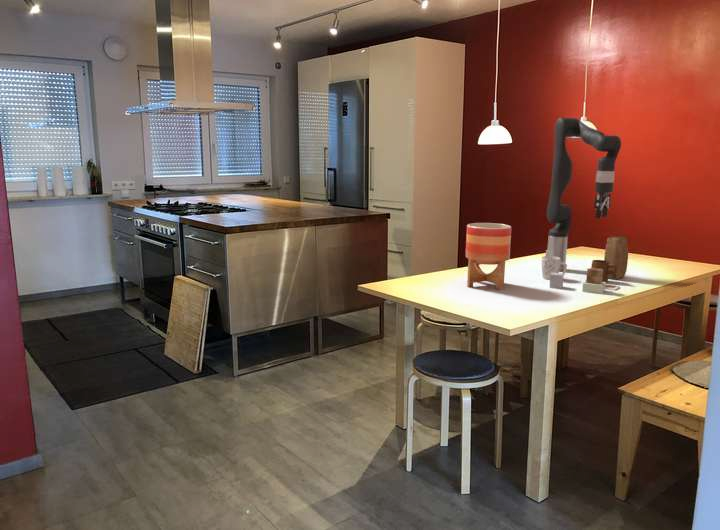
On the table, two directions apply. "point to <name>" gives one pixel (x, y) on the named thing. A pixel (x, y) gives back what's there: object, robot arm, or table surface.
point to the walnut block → (594, 275)
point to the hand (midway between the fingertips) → (601, 217)
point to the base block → (594, 287)
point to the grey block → (556, 280)
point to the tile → (611, 287)
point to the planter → (487, 251)
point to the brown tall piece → (617, 255)
